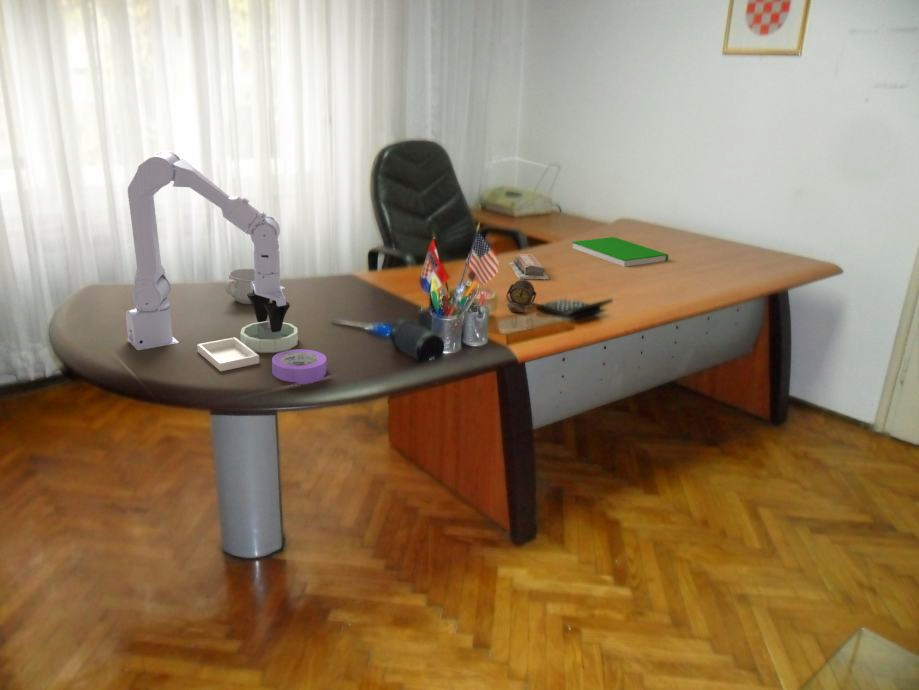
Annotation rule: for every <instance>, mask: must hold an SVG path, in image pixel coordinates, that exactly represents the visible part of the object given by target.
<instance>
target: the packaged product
mask: <svg viewBox="0 0 919 690" xmlns="http://www.w3.org/2000/svg"><path fill="white" fill-rule="evenodd" d="M509 266H510V267H511V269H512V271H513V272H514V274H515V276H516V277H517V278H518V279H519V280H524V279H548V280H549V276H548V275H547V273H545V268H544V267H543V265H542V264H541V262H539V261H538V259H537V258H536V256H535V255H533V254H531V253H515V256H514V261H512V260H511V261H509Z"/></svg>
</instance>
